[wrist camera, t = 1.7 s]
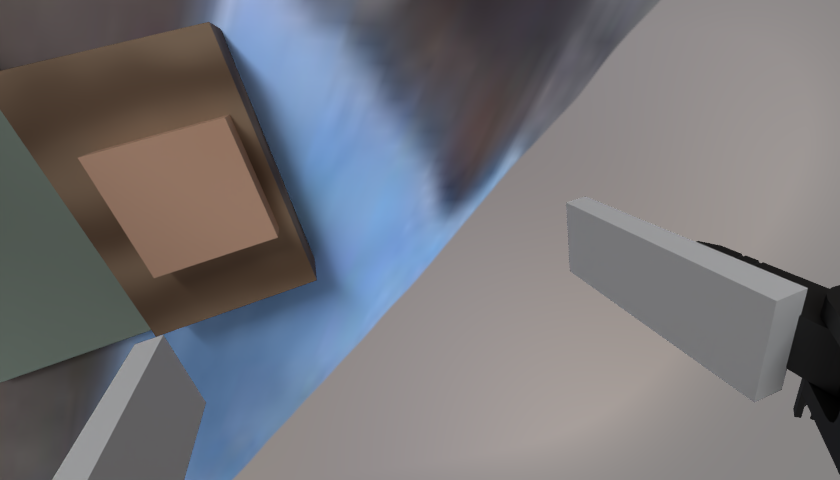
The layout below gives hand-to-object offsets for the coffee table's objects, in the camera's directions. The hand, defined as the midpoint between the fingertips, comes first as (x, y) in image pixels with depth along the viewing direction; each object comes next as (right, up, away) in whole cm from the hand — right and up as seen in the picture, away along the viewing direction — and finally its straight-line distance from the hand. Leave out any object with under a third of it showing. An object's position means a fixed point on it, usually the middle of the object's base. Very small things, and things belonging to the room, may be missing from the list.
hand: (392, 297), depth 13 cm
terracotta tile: (-14, +5, +13) cm, 20 cm away
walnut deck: (-16, +6, +16) cm, 24 cm away
